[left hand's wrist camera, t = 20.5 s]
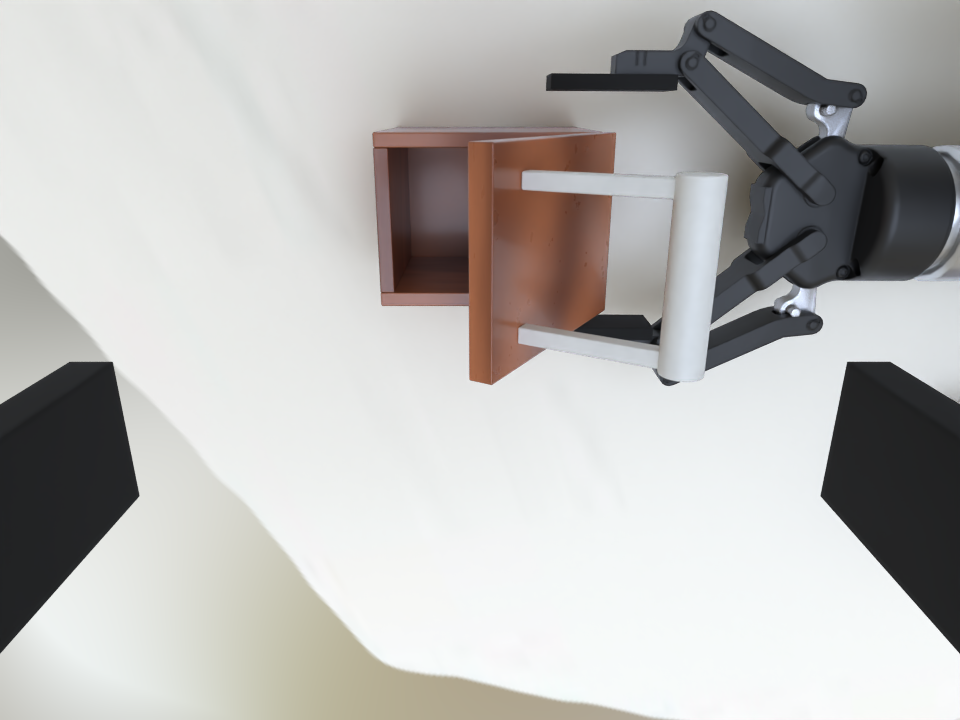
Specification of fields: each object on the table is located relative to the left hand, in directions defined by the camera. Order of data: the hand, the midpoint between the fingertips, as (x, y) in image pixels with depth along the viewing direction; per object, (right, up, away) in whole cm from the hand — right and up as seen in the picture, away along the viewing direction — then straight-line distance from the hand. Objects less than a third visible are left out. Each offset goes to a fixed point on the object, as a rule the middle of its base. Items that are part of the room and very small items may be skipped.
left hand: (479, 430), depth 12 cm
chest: (0, +12, +33) cm, 35 cm away
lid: (+3, +7, +18) cm, 19 cm away
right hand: (+4, +10, +26) cm, 28 cm away
